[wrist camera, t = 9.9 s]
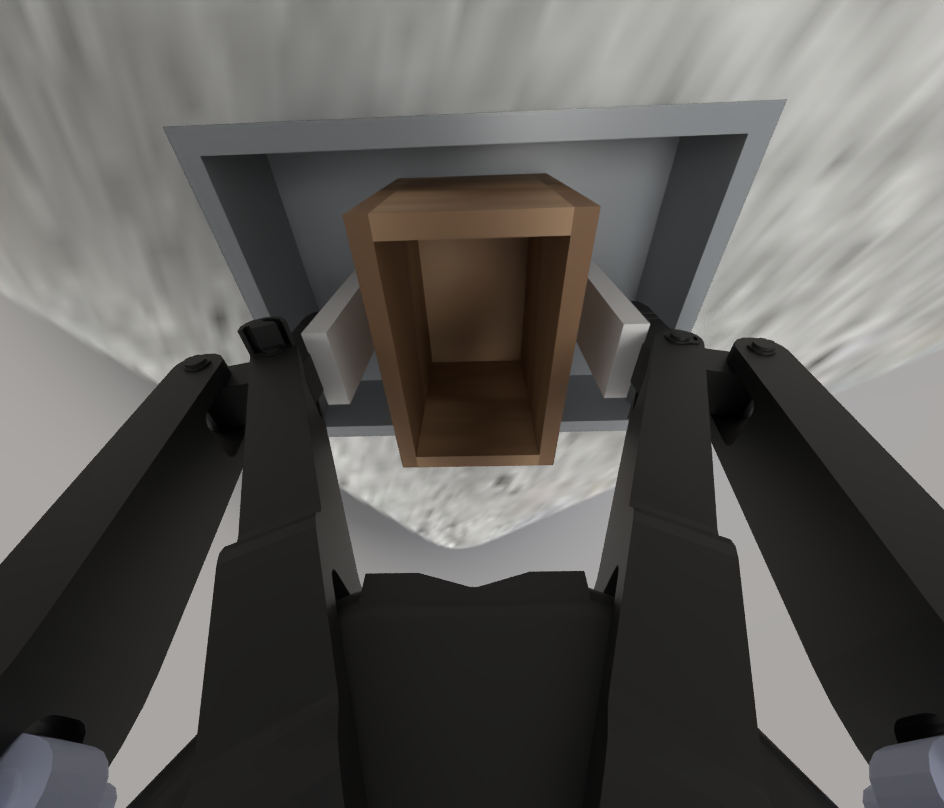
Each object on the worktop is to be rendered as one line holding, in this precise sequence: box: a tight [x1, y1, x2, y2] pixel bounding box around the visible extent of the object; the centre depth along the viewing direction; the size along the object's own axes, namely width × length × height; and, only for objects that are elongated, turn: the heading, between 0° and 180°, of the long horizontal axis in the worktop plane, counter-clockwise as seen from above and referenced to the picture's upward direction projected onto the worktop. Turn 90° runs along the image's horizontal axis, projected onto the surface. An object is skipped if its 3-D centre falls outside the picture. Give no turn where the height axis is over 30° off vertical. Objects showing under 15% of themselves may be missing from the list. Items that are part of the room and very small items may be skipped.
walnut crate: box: [343, 173, 601, 467], centre depth 14 cm, size 6×9×8 cm, turn 2°
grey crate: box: [163, 99, 787, 437], centre depth 15 cm, size 17×12×5 cm
